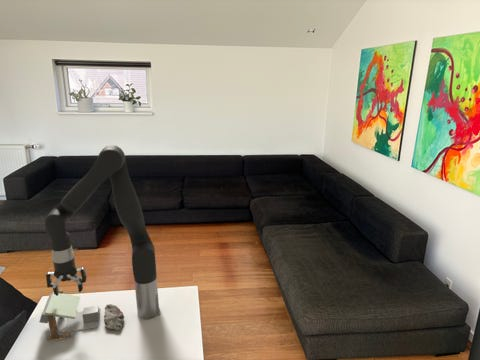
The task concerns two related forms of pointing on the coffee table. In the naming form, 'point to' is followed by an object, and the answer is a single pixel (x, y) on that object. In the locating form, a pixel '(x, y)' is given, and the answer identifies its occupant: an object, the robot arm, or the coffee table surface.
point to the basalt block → (91, 314)
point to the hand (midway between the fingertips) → (69, 292)
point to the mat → (78, 323)
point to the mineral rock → (113, 317)
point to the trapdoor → (60, 306)
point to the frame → (55, 327)
